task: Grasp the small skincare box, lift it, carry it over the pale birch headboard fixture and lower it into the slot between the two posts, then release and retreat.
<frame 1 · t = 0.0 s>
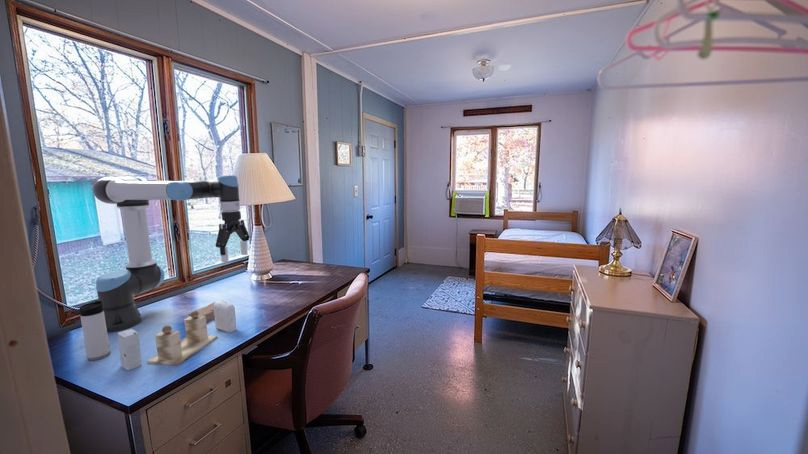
hand: (235, 258, 152), 28 cm above the table, fingers open, 13 cm apart
travel mug: (99, 356, 124), on the table
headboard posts: (184, 349, 128), on the table
photo printer: (226, 329, 145), on the table
skincare box: (132, 366, 118), on the table
brick: (210, 317, 158), on the table
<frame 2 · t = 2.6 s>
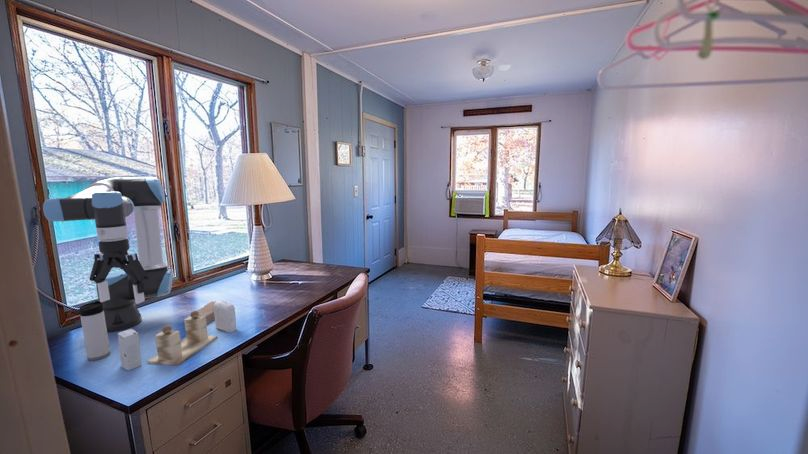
hand: (122, 301, 114), 23 cm above the table, fingers open, 13 cm apart
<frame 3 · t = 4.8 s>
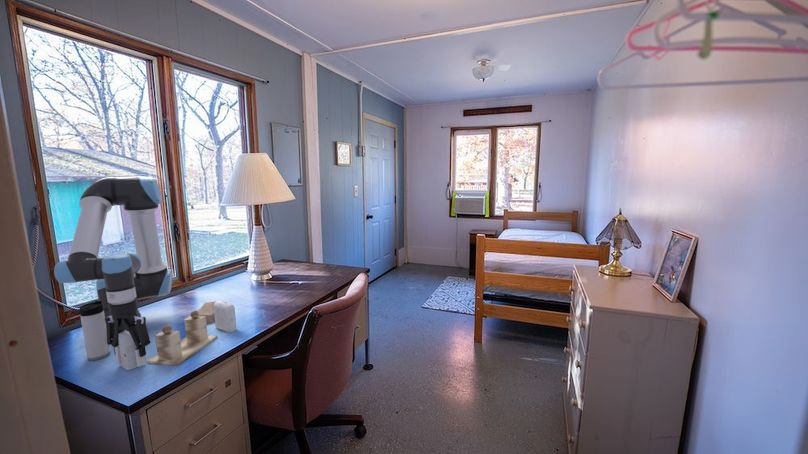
hand: (131, 363, 118), 1 cm above the table, fingers closed on skincare box, 7 cm apart
skincare box: (132, 366, 118), on the table, touching gripper
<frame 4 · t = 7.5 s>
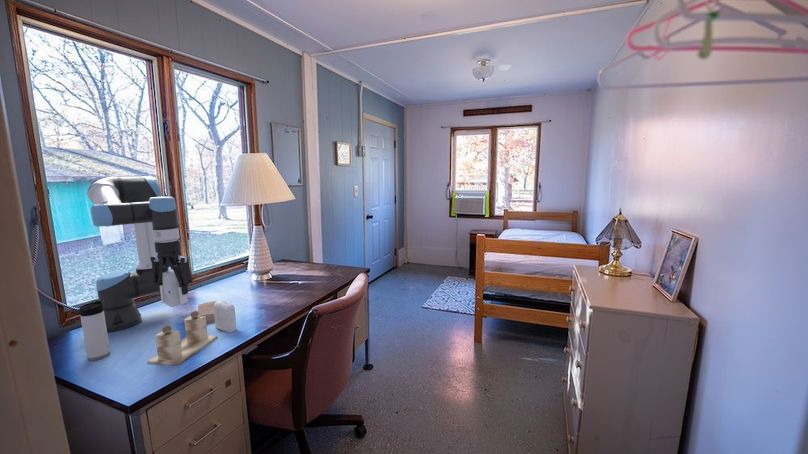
hand: (174, 302, 124), 19 cm above the table, fingers closed on skincare box, 7 cm apart
skincare box: (175, 304, 124), point 18 cm above the table, touching gripper
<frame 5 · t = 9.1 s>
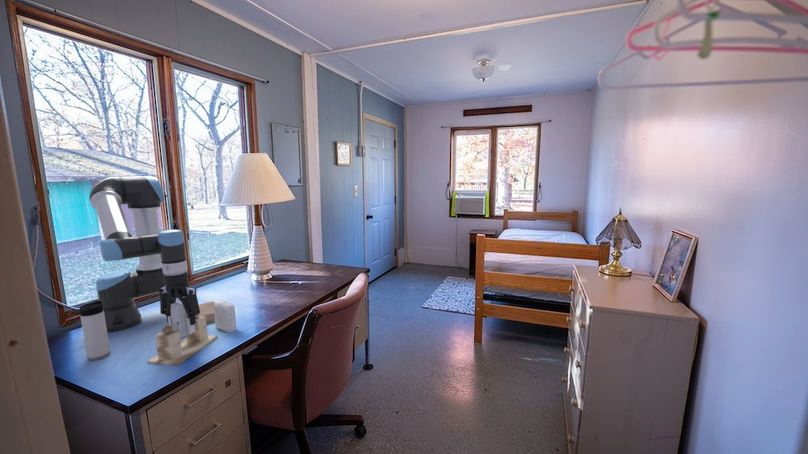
hand: (182, 332, 127), 7 cm above the table, fingers closed on skincare box, 7 cm apart
skincare box: (183, 334, 127), point 6 cm above the table, touching gripper
when the fingers open (3 cm above the table, at t = 10.3 s): skincare box drops 2 cm, resting on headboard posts.
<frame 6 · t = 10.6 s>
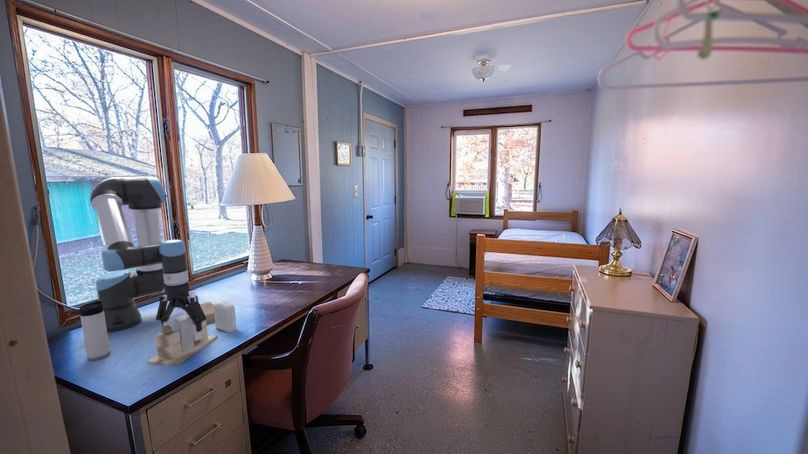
hand: (183, 338, 127), 4 cm above the table, fingers open, 11 cm apart
skincare box: (185, 348, 128), point 1 cm above the table, touching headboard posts
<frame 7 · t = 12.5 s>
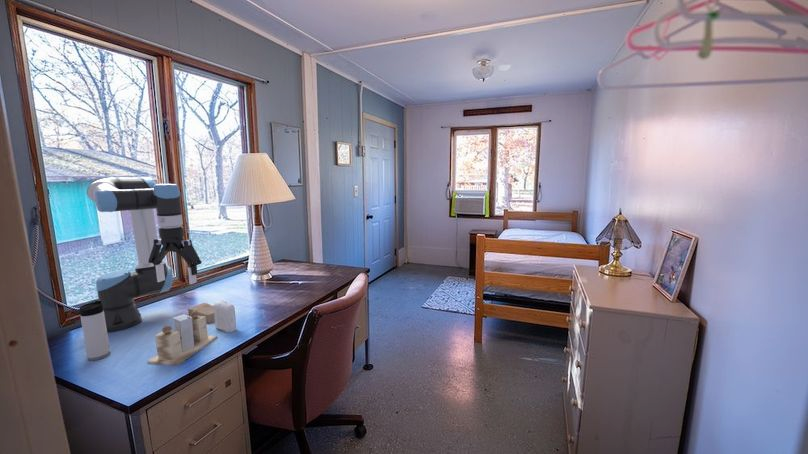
hand: (177, 282, 128), 25 cm above the table, fingers open, 13 cm apart
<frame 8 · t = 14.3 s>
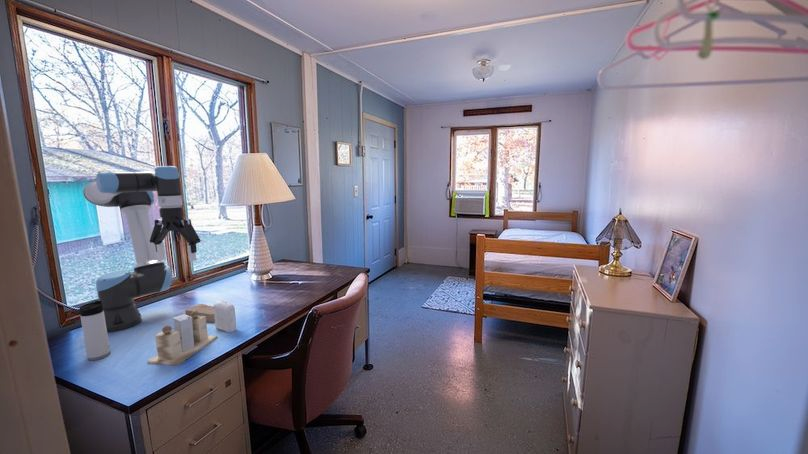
hand: (177, 260, 134), 32 cm above the table, fingers open, 13 cm apart
at the end: skincare box inside the target area on the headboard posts (0.3 cm from its centre), point 0.6 cm above the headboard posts's base; skincare box tilted 0°; the gripper is holding nothing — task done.
